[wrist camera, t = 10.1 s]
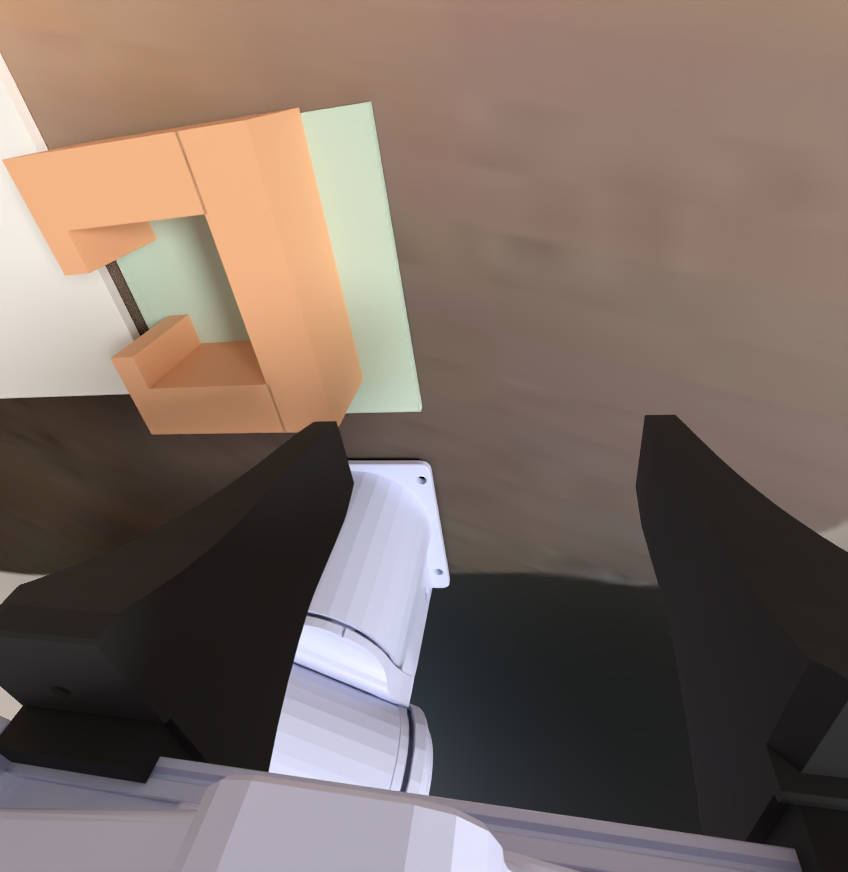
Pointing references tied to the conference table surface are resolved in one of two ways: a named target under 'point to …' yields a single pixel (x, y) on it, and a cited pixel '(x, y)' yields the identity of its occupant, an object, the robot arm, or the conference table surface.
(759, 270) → the conference table surface
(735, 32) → the conference table surface
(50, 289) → the stand
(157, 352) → the c link
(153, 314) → the mat
